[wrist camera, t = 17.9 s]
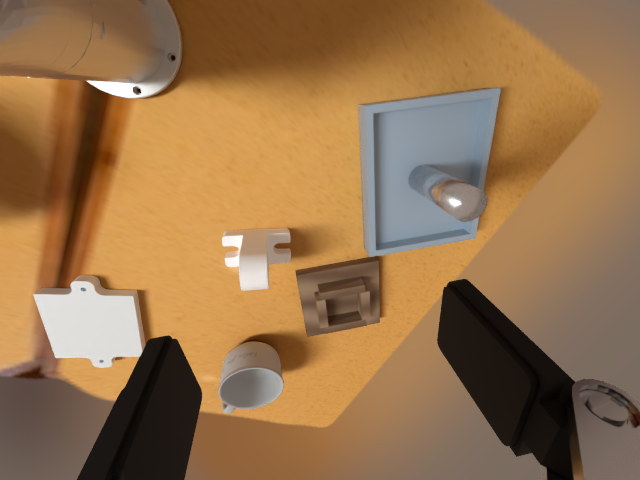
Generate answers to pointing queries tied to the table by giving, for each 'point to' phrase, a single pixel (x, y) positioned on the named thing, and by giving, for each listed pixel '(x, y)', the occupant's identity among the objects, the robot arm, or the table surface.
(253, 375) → the teacup
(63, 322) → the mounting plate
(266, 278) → the cable organizer
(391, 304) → the table surface
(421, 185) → the pin
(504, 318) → the robot arm
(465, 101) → the tray
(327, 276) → the brown square socket base
